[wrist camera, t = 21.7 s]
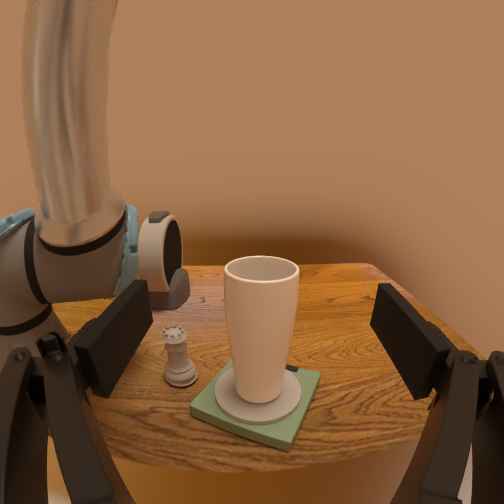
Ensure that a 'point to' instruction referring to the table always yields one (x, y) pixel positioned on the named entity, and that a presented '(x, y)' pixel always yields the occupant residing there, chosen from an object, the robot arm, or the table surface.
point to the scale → (258, 407)
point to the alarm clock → (162, 261)
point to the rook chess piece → (178, 357)
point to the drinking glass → (260, 322)
